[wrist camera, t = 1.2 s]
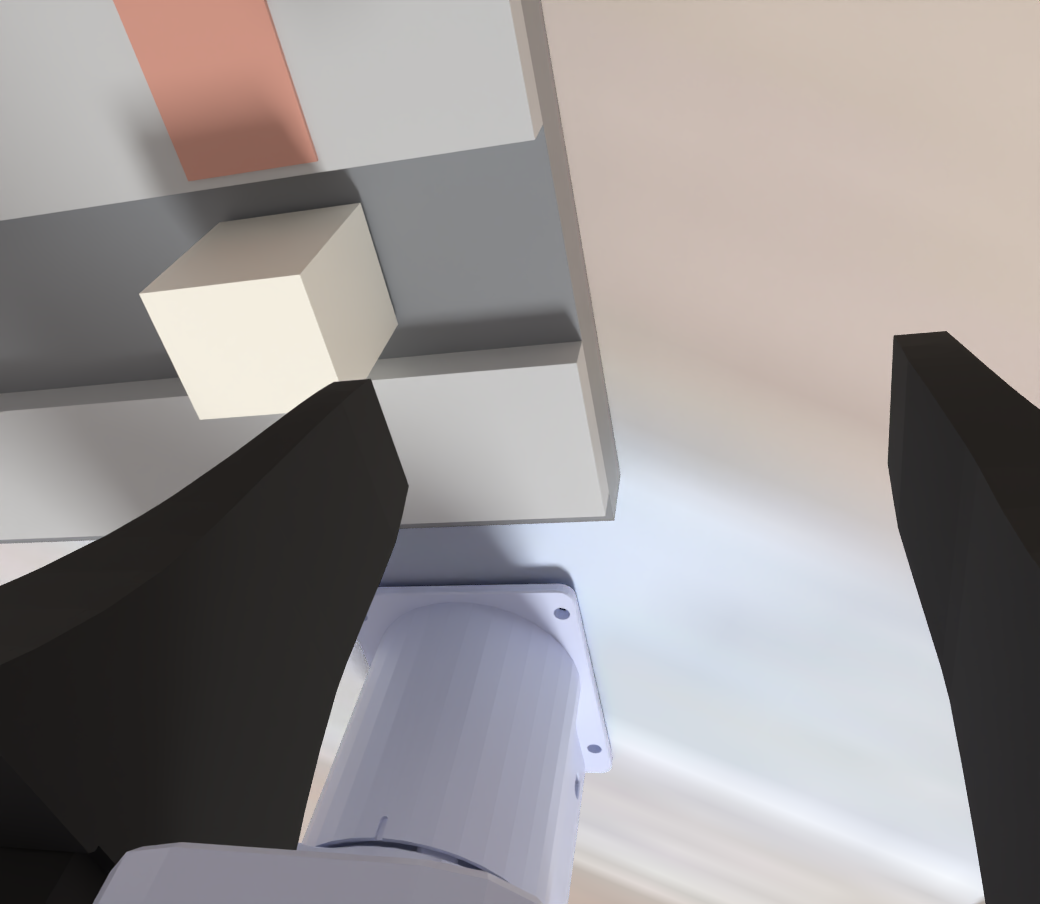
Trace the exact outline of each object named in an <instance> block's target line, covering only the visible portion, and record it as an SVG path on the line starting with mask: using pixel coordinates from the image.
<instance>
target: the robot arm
mask: <svg viewBox="0 0 1040 904" xmlns="http://www.w3.org/2000/svg"><path fill="white" fill-rule="evenodd" d="M888 468H889V474H890V481H891V487H892V494H893V500H894V506H895V512H896V518H897V524H898V529H899V532H900V536H901V539H902V542H903V546H904V549H905V552H906V556H907V559H908V562H909V565H910V569H911V572H912V575H913V579H914V582H915V585H916V588H917V591H918V595H919V598H920V601H921V604H922V608H923V611H924V614H925V617H926V620H927V624H928V627H929V630H930V633H931V636H932V640H933V643H934V646H935V649H936V653H937V656H938V659H939V662H940V665H941V669H942V673H943V676H944V680H945V684H946V688H947V692H948V696H949V700H950V704H951V710H952V715H953V720H954V726H955V731H956V736H957V741H958V747H959V752H960V757H961V763H962V768H963V773H964V779H965V785H966V790H967V796H968V802H969V807H970V813H971V819H972V824H973V830H974V836H975V842H976V847H977V853H978V859H979V866H980V872H981V878H982V884H983V890H984V897H985V903H986V904H1040V409H1038V408H1037V407H1036V406H1034V405H1033V404H1032V403H1031V402H1029V401H1028V400H1027V399H1026V398H1024V397H1023V396H1022V395H1020V394H1019V393H1018V392H1017V391H1016V390H1014V389H1013V388H1012V387H1011V386H1009V385H1008V384H1007V383H1006V382H1005V381H1004V380H1002V379H1001V378H1000V377H999V376H998V375H996V374H995V373H994V372H993V371H992V370H991V369H989V368H988V367H987V366H986V365H985V364H984V363H983V362H981V361H980V360H979V359H978V358H977V357H976V356H975V355H973V354H972V353H971V352H970V351H969V350H968V349H966V348H965V347H964V346H963V345H962V344H961V343H959V342H958V341H957V340H956V339H955V338H954V337H952V336H951V335H950V334H949V333H948V332H947V331H943V332H931V333H919V334H907V335H894V339H893V361H892V382H891V404H890V426H889V447H888ZM408 488H409V485H408V482H407V479H406V476H405V473H404V470H403V468H402V465H401V462H400V459H399V456H398V454H397V451H396V448H395V445H394V442H393V439H392V437H391V434H390V431H389V428H388V425H387V423H386V420H385V417H384V414H383V411H382V408H381V406H380V403H379V400H378V397H377V394H376V392H375V389H374V386H373V383H372V380H371V379H362V380H350V381H337V382H333V383H331V384H329V385H327V386H326V387H324V388H322V389H321V390H319V391H318V392H316V393H315V394H313V395H312V396H310V397H309V398H307V399H306V400H305V401H303V402H302V403H300V404H299V405H298V406H296V407H295V408H293V409H292V410H291V411H289V412H288V413H287V414H285V415H284V416H283V417H281V418H280V419H279V420H277V421H276V422H275V423H273V424H272V425H271V426H269V427H268V428H267V429H265V430H264V431H263V432H261V433H260V434H259V435H257V436H256V437H255V438H253V439H252V440H251V441H249V442H248V443H247V444H245V445H244V446H243V447H241V448H240V449H239V450H237V451H236V452H235V453H233V454H232V455H231V456H229V457H228V458H226V459H225V460H223V461H222V462H221V463H219V464H218V465H216V466H215V467H213V468H212V469H211V470H209V471H208V472H206V473H205V474H203V475H202V476H200V477H199V478H198V479H196V480H195V481H193V482H192V483H190V484H189V485H188V486H186V487H185V488H183V489H182V490H180V491H179V492H177V493H176V494H174V495H173V496H171V497H170V498H168V499H167V500H165V501H164V502H162V503H160V504H159V505H157V506H155V507H154V508H152V509H151V510H149V511H147V512H146V513H144V514H142V515H141V516H139V517H137V518H135V519H134V520H132V521H130V522H129V523H127V524H125V525H123V526H122V527H120V528H118V529H116V530H115V531H113V532H111V533H109V534H107V535H106V536H104V537H102V538H100V539H98V540H96V541H94V542H92V543H90V544H88V545H86V546H84V547H82V548H80V549H78V550H76V551H74V552H72V553H70V554H68V555H66V556H64V557H62V558H60V559H58V560H56V561H54V562H52V563H50V564H48V565H46V566H44V567H42V568H40V569H38V570H35V571H33V572H31V573H29V574H27V575H24V576H22V577H20V578H17V579H15V580H13V581H10V582H8V583H6V584H4V585H1V586H0V904H568V898H569V891H570V883H571V876H572V868H573V860H574V853H575V845H576V837H577V830H578V822H579V815H580V807H581V799H582V792H583V784H584V777H585V772H587V773H605V772H607V771H609V770H610V769H611V768H612V760H613V757H612V752H611V748H610V743H609V739H608V735H607V730H606V726H605V721H604V717H603V712H602V708H601V704H600V699H599V695H598V690H597V686H596V681H595V677H594V672H593V668H592V664H591V659H590V655H589V650H588V646H587V641H586V637H585V633H584V628H583V624H582V619H581V615H580V610H579V606H578V601H577V597H576V594H575V592H574V590H573V589H572V588H571V587H569V586H567V585H564V584H509V585H459V586H409V587H378V586H379V583H380V581H381V578H382V576H383V573H384V571H385V568H386V566H387V563H388V561H389V558H390V556H391V553H392V551H393V548H394V545H395V543H396V539H397V535H398V531H399V528H400V524H401V520H402V516H403V511H404V507H405V502H406V497H407V493H408ZM558 608H564V609H566V611H564V610H560V609H558ZM356 639H358V642H359V644H360V646H361V649H362V651H363V653H364V655H365V658H366V660H367V662H368V665H369V667H370V669H369V672H368V674H367V677H366V679H365V682H364V684H363V687H362V690H361V692H360V695H359V697H358V700H357V702H356V705H355V707H354V710H353V713H352V715H351V718H350V720H349V723H348V725H347V728H346V731H345V733H344V736H343V738H342V741H341V743H340V746H339V749H338V751H337V754H336V756H335V759H334V761H333V764H332V766H331V769H330V772H329V774H328V777H327V779H326V782H325V784H324V787H323V790H322V792H321V795H320V797H319V800H318V802H317V805H316V808H315V810H314V813H313V815H312V818H311V820H310V823H309V825H308V828H307V831H306V833H305V836H304V838H303V841H302V843H298V841H299V836H300V831H301V827H302V822H303V817H304V813H305V808H306V804H307V800H308V796H309V792H310V788H311V784H312V780H313V776H314V772H315V768H316V764H317V760H318V756H319V752H320V748H321V744H322V741H323V737H324V734H325V730H326V727H327V723H328V720H329V716H330V713H331V709H332V706H333V702H334V699H335V695H336V692H337V689H338V686H339V683H340V680H341V677H342V675H343V672H344V669H345V666H346V664H347V661H348V659H349V656H350V654H351V651H352V649H353V647H354V644H355V642H356Z"/></svg>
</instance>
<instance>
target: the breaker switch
mask: <svg viewBox="0 0 1040 904" xmlns="http://www.w3.org/2000/svg"><path fill="white" fill-rule="evenodd" d="M139 295H140V297H141V299H142V301H143V303H144V305H145V307H146V310H147V312H148V314H149V316H150V318H151V320H152V322H153V324H154V326H155V328H156V330H157V332H158V334H159V336H160V338H161V340H162V343H163V345H164V347H165V349H166V351H167V353H168V355H169V357H170V359H171V361H172V363H173V365H174V367H175V369H176V371H177V374H178V376H179V378H180V380H181V382H182V384H183V386H184V388H185V390H186V392H187V394H188V396H189V398H190V400H191V402H192V405H193V407H194V409H195V411H196V413H197V415H198V417H199V419H200V420H203V419H217V418H230V417H243V416H256V415H269V414H282V413H288V412H289V411H291V410H292V409H293V408H295V407H296V406H298V405H299V404H300V403H302V402H303V401H305V400H306V399H307V398H309V397H310V396H312V395H313V394H315V393H316V392H318V391H319V390H321V389H322V388H324V387H326V386H327V385H329V384H331V383H333V382H337V381H350V380H362V379H366V378H367V377H368V375H369V373H370V371H371V370H372V368H373V366H374V365H375V363H376V361H377V359H378V358H379V356H380V354H381V353H382V351H383V349H384V348H385V346H386V344H387V342H388V341H389V339H390V337H391V336H392V334H393V332H394V330H395V329H396V327H397V325H398V322H397V319H396V316H395V313H394V309H393V306H392V303H391V300H390V297H389V293H388V290H387V287H386V284H385V280H384V277H383V274H382V271H381V267H380V264H379V261H378V258H377V254H376V251H375V248H374V245H373V242H372V238H371V235H370V232H369V229H368V225H367V222H366V219H365V216H364V212H363V209H362V206H361V203H354V204H347V205H340V206H333V207H326V208H319V209H312V210H304V211H297V212H290V213H283V214H276V215H269V216H262V217H254V218H247V219H240V220H233V221H226V222H219V223H218V224H217V225H216V226H215V227H214V228H213V229H211V230H210V231H209V232H208V233H207V234H206V235H205V236H204V237H202V238H201V239H200V240H199V241H198V242H197V243H196V244H195V245H193V246H192V247H191V248H190V249H189V250H188V251H187V252H186V253H184V254H183V255H182V256H181V257H180V258H179V259H178V260H176V261H175V262H174V263H173V264H172V265H171V266H170V267H169V268H167V269H166V270H165V271H164V272H163V273H162V274H161V275H160V276H158V277H157V278H156V279H155V280H154V281H153V282H152V283H151V284H149V285H148V286H147V287H146V288H145V289H144V290H143V291H142V292H140V293H139Z"/></svg>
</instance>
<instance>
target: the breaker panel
mask: <svg viewBox="0 0 1040 904" xmlns="http://www.w3.org/2000/svg"><path fill="white" fill-rule="evenodd" d="M354 203H361V206H362V209H363V212H364V216H365V219H366V222H367V225H368V229H369V232H370V235H371V238H372V242H373V245H374V248H375V251H376V254H377V258H378V261H379V264H380V267H381V271H382V274H383V277H384V280H385V284H386V287H387V290H388V293H389V297H390V300H391V303H392V306H393V309H394V313H395V316H396V319H397V322H398V325H397V327H396V329H395V330H394V332H393V334H392V336H391V337H390V339H389V341H388V342H387V344H386V346H385V348H384V349H383V351H382V353H381V354H380V356H379V358H378V359H377V361H376V363H375V365H374V366H373V368H372V370H371V371H370V373H369V375H368V377H367V378H366V379H371V380H372V383H373V386H374V389H375V392H376V394H377V397H378V400H379V403H380V406H381V408H382V411H383V414H384V417H385V420H386V423H387V425H388V428H389V431H390V434H391V437H392V439H393V442H394V445H395V448H396V451H397V454H398V456H399V459H400V462H401V465H402V468H403V470H404V473H405V476H406V479H407V482H408V485H409V488H408V493H407V497H406V502H405V507H404V511H403V516H402V520H401V524H400V528H399V529H402V528H428V527H455V526H481V525H508V524H534V523H561V522H587V521H614V518H615V511H616V503H617V496H618V489H619V482H620V469H619V463H618V457H617V451H616V445H615V439H614V433H613V427H612V422H611V416H610V410H609V404H608V398H607V392H606V386H605V380H604V374H603V368H602V362H601V356H600V350H599V344H598V338H597V332H596V326H595V320H594V314H593V308H592V302H591V297H590V291H589V285H588V279H587V273H586V267H585V261H584V255H583V249H582V243H581V237H580V231H579V225H578V219H577V213H576V207H575V201H574V195H573V189H572V183H571V178H570V172H569V166H568V160H567V154H566V148H565V142H564V136H563V130H562V124H561V118H560V112H559V106H558V100H557V94H556V88H555V82H554V76H553V70H552V64H551V58H550V53H549V47H548V41H547V35H546V29H545V23H544V17H543V11H542V5H541V0H0V544H5V543H32V542H58V541H84V540H98V539H100V538H102V537H104V536H106V535H107V534H109V533H111V532H113V531H115V530H116V529H118V528H120V527H122V526H123V525H125V524H127V523H129V522H130V521H132V520H134V519H135V518H137V517H139V516H141V515H142V514H144V513H146V512H147V511H149V510H151V509H152V508H154V507H155V506H157V505H159V504H160V503H162V502H164V501H165V500H167V499H168V498H170V497H171V496H173V495H174V494H176V493H177V492H179V491H180V490H182V489H183V488H185V487H186V486H188V485H189V484H190V483H192V482H193V481H195V480H196V479H198V478H199V477H200V476H202V475H203V474H205V473H206V472H208V471H209V470H211V469H212V468H213V467H215V466H216V465H218V464H219V463H221V462H222V461H223V460H225V459H226V458H228V457H229V456H231V455H232V454H233V453H235V452H236V451H237V450H239V449H240V448H241V447H243V446H244V445H245V444H247V443H248V442H249V441H251V440H252V439H253V438H255V437H256V436H257V435H259V434H260V433H261V432H263V431H264V430H265V429H267V428H268V427H269V426H271V425H272V424H273V423H275V422H276V421H277V420H279V419H280V418H281V417H283V416H284V415H285V414H287V413H282V414H269V415H256V416H243V417H230V418H217V419H203V420H200V419H199V417H198V415H197V413H196V411H195V409H194V407H193V405H192V402H191V400H190V398H189V396H188V394H187V392H186V390H185V388H184V386H183V384H182V382H181V380H180V378H179V376H178V374H177V371H176V369H175V367H174V365H173V363H172V361H171V359H170V357H169V355H168V353H167V351H166V349H165V347H164V345H163V343H162V340H161V338H160V336H159V334H158V332H157V330H156V328H155V326H154V324H153V322H152V320H151V318H150V316H149V314H148V312H147V310H146V307H145V305H144V303H143V301H142V299H141V297H140V295H139V293H140V292H142V291H143V290H144V289H145V288H146V287H147V286H148V285H149V284H151V283H152V282H153V281H154V280H155V279H156V278H157V277H158V276H160V275H161V274H162V273H163V272H164V271H165V270H166V269H167V268H169V267H170V266H171V265H172V264H173V263H174V262H175V261H176V260H178V259H179V258H180V257H181V256H182V255H183V254H184V253H186V252H187V251H188V250H189V249H190V248H191V247H192V246H193V245H195V244H196V243H197V242H198V241H199V240H200V239H201V238H202V237H204V236H205V235H206V234H207V233H208V232H209V231H210V230H211V229H213V228H214V227H215V226H216V225H217V224H218V223H219V222H226V221H233V220H240V219H247V218H254V217H262V216H269V215H276V214H283V213H290V212H297V211H304V210H312V209H319V208H326V207H333V206H340V205H347V204H354Z"/></svg>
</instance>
